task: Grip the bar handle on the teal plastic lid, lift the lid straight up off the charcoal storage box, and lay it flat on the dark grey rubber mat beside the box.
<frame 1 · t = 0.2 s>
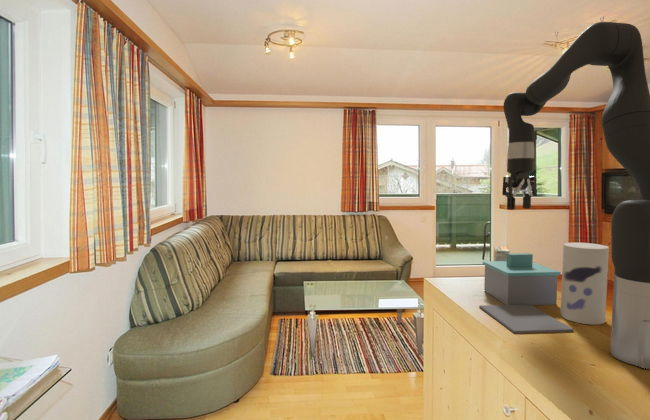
hand: (519, 209, 122), 28 cm above the table, fingers open, 8 cm apart
mat: (522, 318, 104), on the table
supplement box: (500, 285, 137), on the table
lid: (519, 273, 122), point 8 cm above the table, touching storage box
container: (582, 319, 104), on the table
storage box: (518, 297, 122), on the table
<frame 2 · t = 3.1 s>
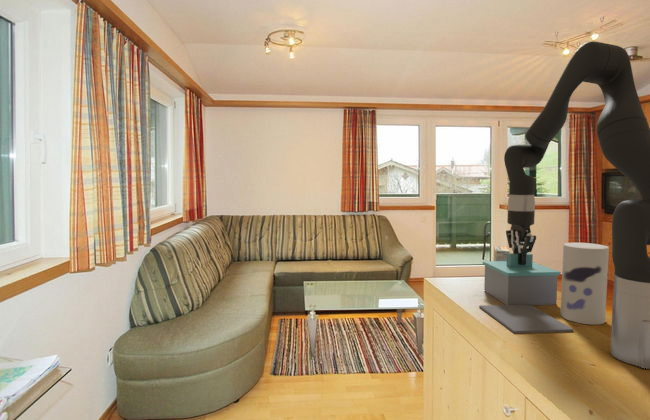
hand: (519, 263, 122), 11 cm above the table, fingers closed on lid, 2 cm apart
lid: (519, 273, 122), point 8 cm above the table, touching gripper, storage box
everything else where it was.
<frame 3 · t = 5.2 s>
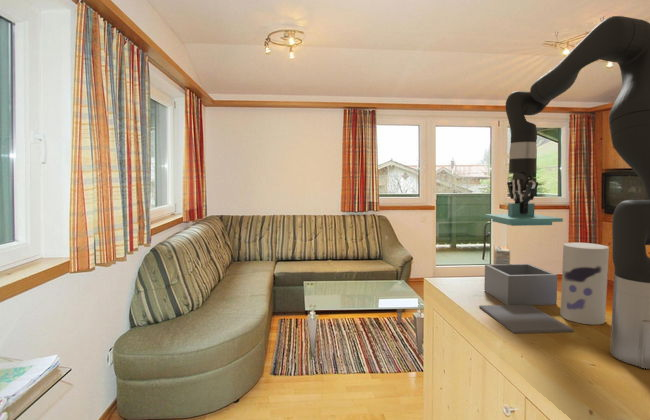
hand: (521, 213, 120), 27 cm above the table, fingers closed on lid, 2 cm apart
lid: (520, 223, 120), point 24 cm above the table, touching gripper
everything else where it was.
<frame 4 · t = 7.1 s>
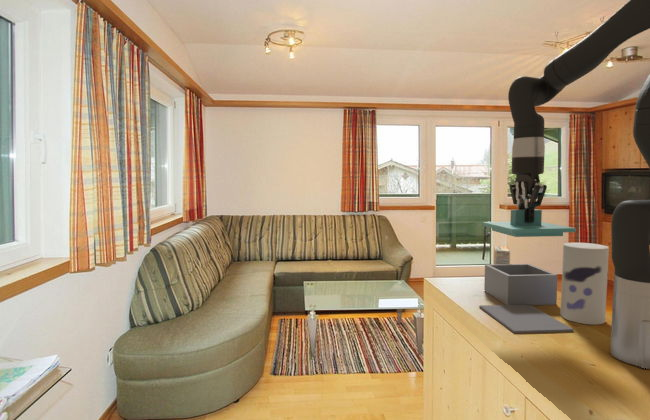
hand: (525, 221, 102), 26 cm above the table, fingers closed on lid, 2 cm apart
lid: (525, 233, 102), point 23 cm above the table, touching gripper
everything else where it was.
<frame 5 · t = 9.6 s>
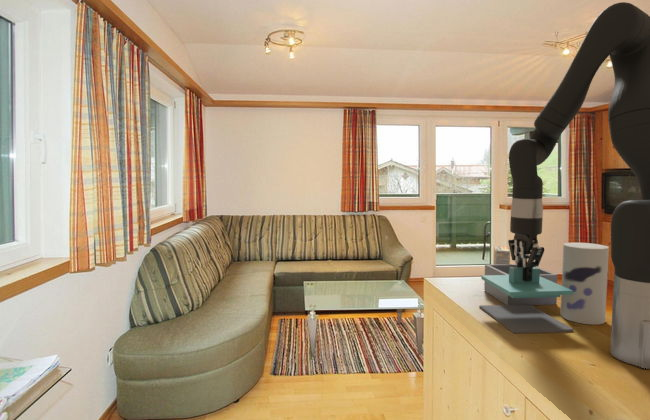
hand: (523, 279, 103), 11 cm above the table, fingers closed on lid, 2 cm apart
lid: (523, 290, 104), point 8 cm above the table, touching gripper
everything else where it was.
when the fingers open (5 cm above the table, at t = 11.5 s): lid drops 1 cm, resting on mat.
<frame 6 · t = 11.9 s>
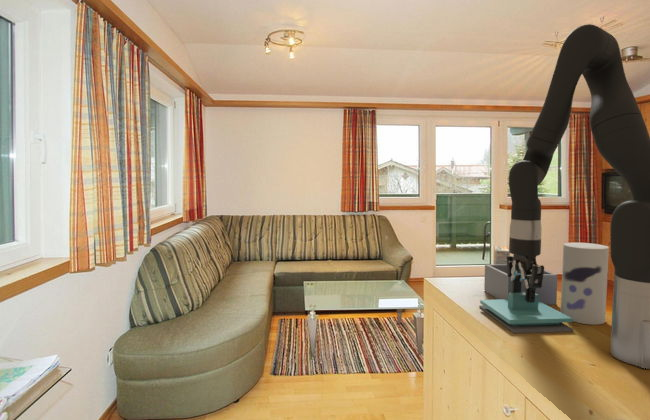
hand: (523, 298, 104), 6 cm above the table, fingers open, 6 cm apart
lid: (522, 316, 104), point 1 cm above the table, touching mat
everything else where it was.
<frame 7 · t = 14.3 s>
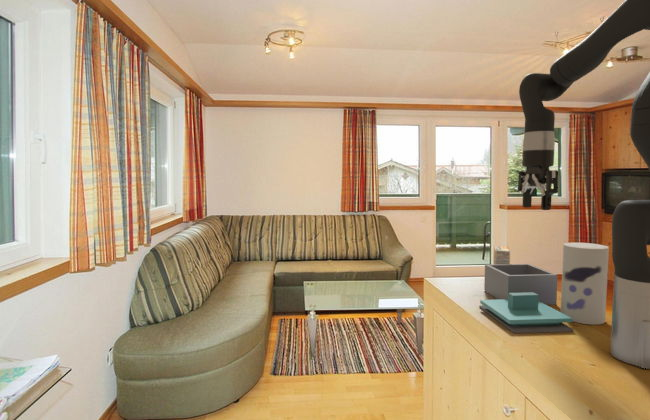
hand: (535, 208, 106), 29 cm above the table, fingers open, 8 cm apart
nothing on the table moved.
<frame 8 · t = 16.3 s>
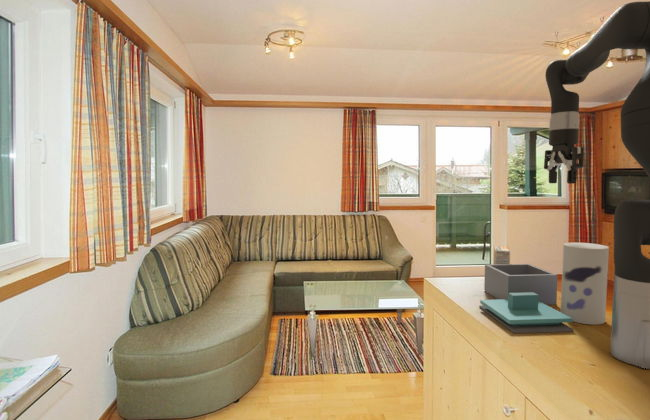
hand: (561, 183, 116), 36 cm above the table, fingers open, 8 cm apart
nothing on the table moved.
at the end: lid inside the target area on the mat (0.0 cm from its centre), point 0.6 cm above the mat's base; lid tilted 0°; the gripper is holding nothing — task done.
